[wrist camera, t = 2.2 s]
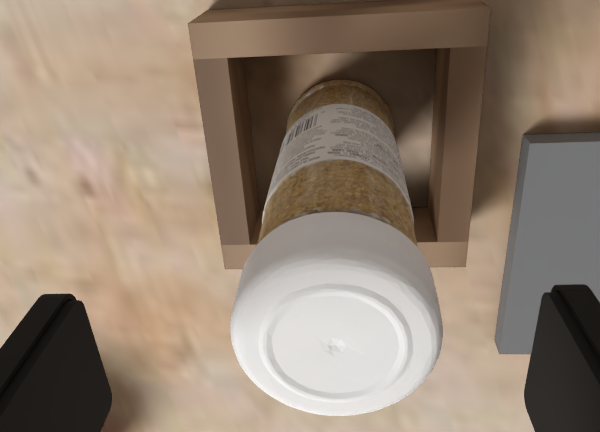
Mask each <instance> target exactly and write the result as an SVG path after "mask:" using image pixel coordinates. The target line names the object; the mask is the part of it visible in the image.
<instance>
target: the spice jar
mask: <svg viewBox="0 0 600 432" xmlns="http://www.w3.org/2000/svg"><path fill="white" fill-rule="evenodd" d="M442 337H443V326H442V319H441V313H440V307H439V302H438V297H437V293H436V289H435V285H434V281H433V277H432V273H431V270H430V268H429V265H428V262H427V261H426V259H425V257H424V255H423V254H422V253H421V251H420V250H419V248H418V246H417V241H416V237H415V233H414V217H413V212H412V208H411V203H410V199H409V194H408V190H407V185H406V181H405V176H404V172H403V167H402V163H401V159H400V155H399V150H398V147H397V144H396V141H395V138H394V123H393V121H392V116H391V112H390V109H389V107H388V106H387V105H386V103H385V102H384V101H383V99H382V98H381V97H380V96H379V95H378V94H377V93H376V92H375V91H374V90H373V89H371V88H370V87H368V86H366V85H364V84H362V83H359V82H357V81H351V80H331V81H328V82H323V83H320V84H318V85H315V86H314V87H312V88H311V89H310V90H308V91H307V92H305V93H304V94H303V95H302V97H301V98H300V99H299V100H297V101H296V103H295V104H294V106H293V108H292V110H291V113H290V115H289V117H288V121H287V129H286V136H285V138H284V140H283V143H282V146H281V149H280V153H279V156H278V160H277V163H276V167H275V171H274V174H273V177H272V181H271V184H270V188H269V191H268V195H267V199H266V203H265V207H264V211H263V217H262V227H261V231H260V236H259V241H258V244H257V245H256V247H255V248H254V249H253V251H252V252H251V254H250V255H249V257H248V259H247V260H246V263H245V265H244V267H243V270H242V274H241V277H240V281H239V285H238V289H237V294H236V298H235V302H234V307H233V311H232V316H231V339H232V345H233V348H234V351H235V354H236V357H237V359H238V361H239V363H240V365H241V367H242V368H243V370H244V371H245V373H246V374H247V375H248V376H249V378H250V379H251V380H252V381H253V382H254V383H255V384H256V385H257V386H258V387H259V388H260V389H262V390H263V391H264V392H266V393H267V394H268V395H270V396H272V397H273V398H275V399H276V400H278V401H280V402H282V403H284V404H286V405H288V406H290V407H293V408H296V409H299V410H302V411H306V412H310V413H315V414H320V415H329V416H346V415H358V414H363V413H369V412H373V411H376V410H380V409H382V408H385V407H387V406H389V405H392V404H394V403H396V402H398V401H399V400H401V399H403V398H404V397H406V396H407V395H409V394H410V393H411V392H413V391H414V390H415V389H416V388H417V387H418V386H420V385H421V384H422V382H423V381H424V380H425V379H426V378H427V376H428V375H429V374H430V372H431V371H432V369H433V367H434V365H435V363H436V361H437V359H438V356H439V353H440V350H441V345H442Z"/></svg>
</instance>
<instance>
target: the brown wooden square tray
mask: <svg viewBox="0 0 600 432" xmlns="http://www.w3.org/2000/svg"><path fill="white" fill-rule="evenodd" d="M490 15H491V7H489V6H488V5H486V4H485V3H483V2H481V1H480V0H386V1H367V2H349V3H330V4H312V5H293V6H275V7H257V8H238V9H220V10H207V11H205V12H204V13H203V14H201V15H200V16H198V17H197V18H195V19H194V20H192V21H191V22H189V23H188V28H189V35H190V41H191V48H192V54H193V61H194V68H195V74H196V81H197V88H198V94H199V101H200V108H201V114H202V121H203V127H204V134H205V141H206V147H207V154H208V161H209V167H210V174H211V181H212V187H213V194H214V200H215V207H216V214H217V220H218V227H219V234H220V240H221V247H222V254H223V260H224V267H225V269H243V267H244V265H245V263H246V260H247V259H248V257H249V255H250V254H251V252H252V251H253V249H254V248H255V247H256V245H257V244H258V241H259V236H260V231H261V227H262V217H263V211H264V210H263V211H260V208H259V199H258V189H257V180H256V171H255V162H254V152H253V143H252V134H251V124H250V115H249V106H248V97H247V87H246V78H245V69H244V60H243V57H258V56H280V55H302V54H324V53H345V52H367V51H389V50H411V49H433V48H437V51H436V69H435V87H434V105H433V123H432V141H431V158H430V176H429V194H428V207H419V208H412V212H413V217H414V233H415V237H416V241H417V246H418V248H419V250H420V251H421V253H422V254H423V255H424V257H425V259H426V261H427V262H428V265H429V267H466V259H467V249H468V239H469V229H470V218H471V208H472V198H473V188H474V178H475V168H476V157H477V147H478V137H479V127H480V117H481V107H482V96H483V86H484V76H485V66H486V56H487V46H488V35H489V25H490Z"/></svg>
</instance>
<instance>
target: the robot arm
mask: <svg viewBox="0 0 600 432" xmlns="http://www.w3.org/2000/svg"><path fill="white" fill-rule="evenodd" d="M524 399H525V405H526V409H527V412H528V414H529V417H530V420H531V422H532V425H533V427H534V430H535V432H600V302H599V301H598V299H597V298H596V296H595V295H594V293H593V292H592V290H591V289H590V288H589V287H588V286H587V285H585V284H571V285H554V286H553V288H552V289H551V292H545V293H544V294H543V295H542V299H541V304H540V309H539V314H538V320H537V325H536V331H535V336H534V341H533V347H532V352H531V357H530V363H529V368H528V374H527V379H526V384H525V390H524ZM111 403H112V393H111V389H110V386H109V383H108V380H107V377H106V373H105V370H104V367H103V364H102V361H101V357H100V354H99V351H98V348H97V345H96V342H95V338H94V335H93V332H92V329H91V326H90V322H89V319H88V316H87V313H86V310H85V306H84V304H83V303H82V301H79V300H78V301H77V300H76V298H75V297H74V296H73V295H72V294H44V295H41V296H40V297H39V298H38V300H37V301H36V302H35V303H34V305H33V306H32V307H31V309H30V310H29V311H28V313H27V314H26V315H25V317H24V318H23V319H22V321H21V322H20V323H19V325H18V326H17V327H16V329H15V330H14V331H13V332H12V334H11V335H10V336H9V338H8V339H7V340H6V342H5V343H4V344H3V346H2V347H1V348H0V432H100V431H101V429H102V427H103V424H104V422H105V420H106V418H107V415H108V413H109V411H110V408H111Z"/></svg>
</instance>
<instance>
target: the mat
mask: <svg viewBox="0 0 600 432" xmlns="http://www.w3.org/2000/svg"><path fill="white" fill-rule="evenodd" d="M571 284H585V285H587V286H588V287H589V288H590V289H591V290H592V292H593V293H594V295H595V296H596V298H597V299H598V301H599V302H600V132H596V133H564V134H531V135H523V138H522V145H521V152H520V160H519V167H518V174H517V181H516V189H515V196H514V203H513V210H512V217H511V225H510V232H509V239H508V246H507V254H506V261H505V268H504V275H503V282H502V290H501V297H500V304H499V311H498V318H497V326H496V333H495V343H496V346H497V349H498V352H499V354H531V352H532V347H533V341H534V336H535V331H536V325H537V320H538V314H539V309H540V304H541V299H542V295H543V294H544V293H545V292H551V289H552V288H553V286H554V285H571Z"/></svg>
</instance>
